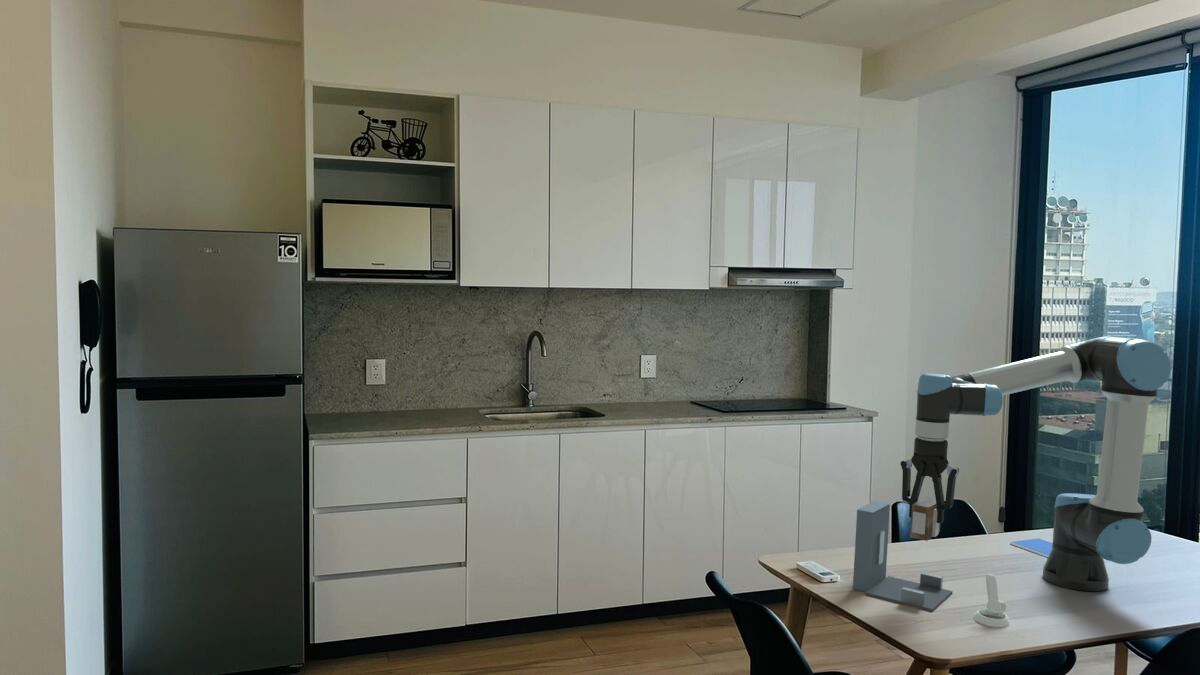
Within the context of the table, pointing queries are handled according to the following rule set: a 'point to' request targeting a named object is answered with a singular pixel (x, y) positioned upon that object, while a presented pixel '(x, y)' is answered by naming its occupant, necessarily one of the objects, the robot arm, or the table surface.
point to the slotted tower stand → (874, 561)
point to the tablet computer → (1035, 546)
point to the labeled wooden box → (923, 519)
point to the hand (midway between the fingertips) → (925, 533)
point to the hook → (992, 606)
